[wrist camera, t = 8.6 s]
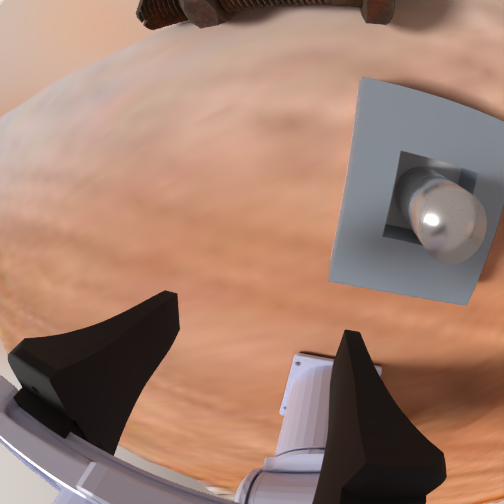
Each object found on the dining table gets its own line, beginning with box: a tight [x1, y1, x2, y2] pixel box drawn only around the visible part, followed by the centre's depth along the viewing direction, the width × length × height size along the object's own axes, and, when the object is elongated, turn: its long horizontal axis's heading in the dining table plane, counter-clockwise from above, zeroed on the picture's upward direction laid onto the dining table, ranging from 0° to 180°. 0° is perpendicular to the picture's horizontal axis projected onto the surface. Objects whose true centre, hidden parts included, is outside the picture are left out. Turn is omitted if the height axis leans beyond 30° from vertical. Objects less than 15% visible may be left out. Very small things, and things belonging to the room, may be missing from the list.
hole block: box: [329, 77, 504, 306], centre depth 16 cm, size 12×10×3 cm
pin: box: [395, 167, 487, 264], centre depth 14 cm, size 4×4×6 cm
